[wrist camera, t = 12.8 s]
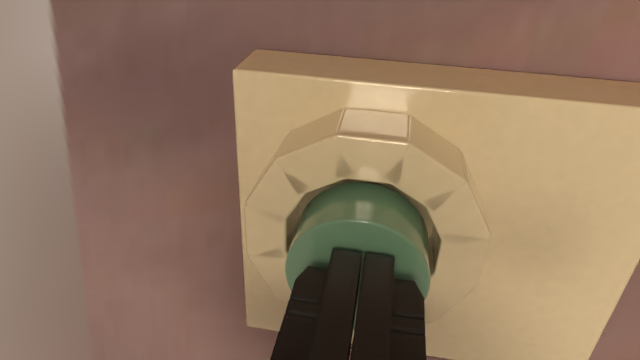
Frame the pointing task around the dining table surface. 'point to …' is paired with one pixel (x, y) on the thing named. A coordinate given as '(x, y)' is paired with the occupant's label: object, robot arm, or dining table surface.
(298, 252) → the button
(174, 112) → the dining table surface
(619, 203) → the tan dimmer knob panel
